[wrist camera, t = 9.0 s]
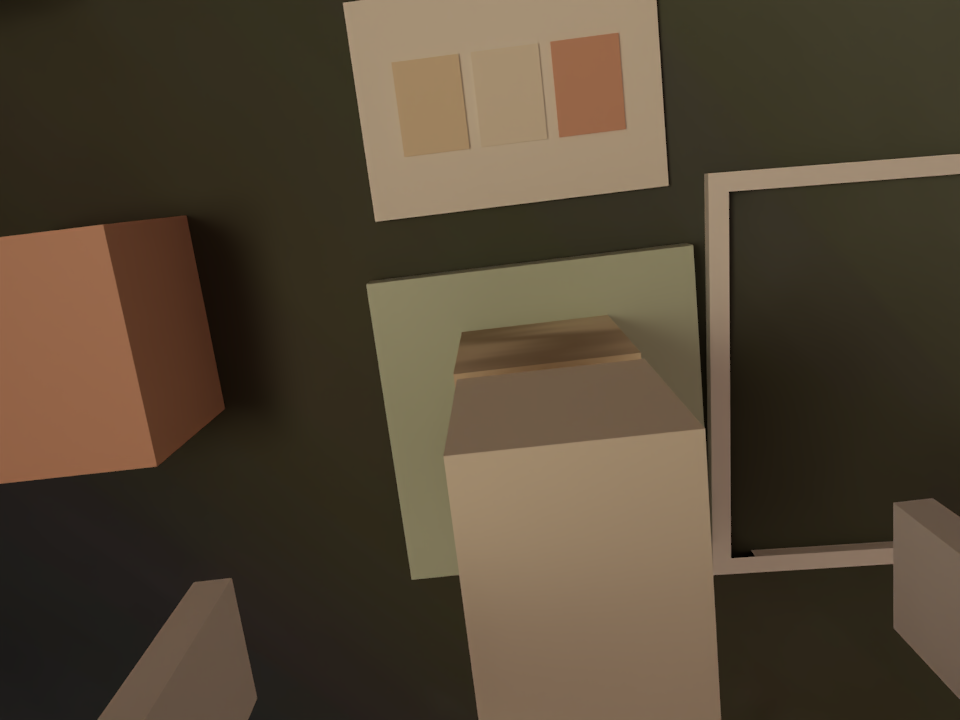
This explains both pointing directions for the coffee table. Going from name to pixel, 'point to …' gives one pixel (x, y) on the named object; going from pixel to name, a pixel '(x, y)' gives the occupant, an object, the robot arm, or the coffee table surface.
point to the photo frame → (719, 353)
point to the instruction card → (506, 101)
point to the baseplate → (502, 303)
